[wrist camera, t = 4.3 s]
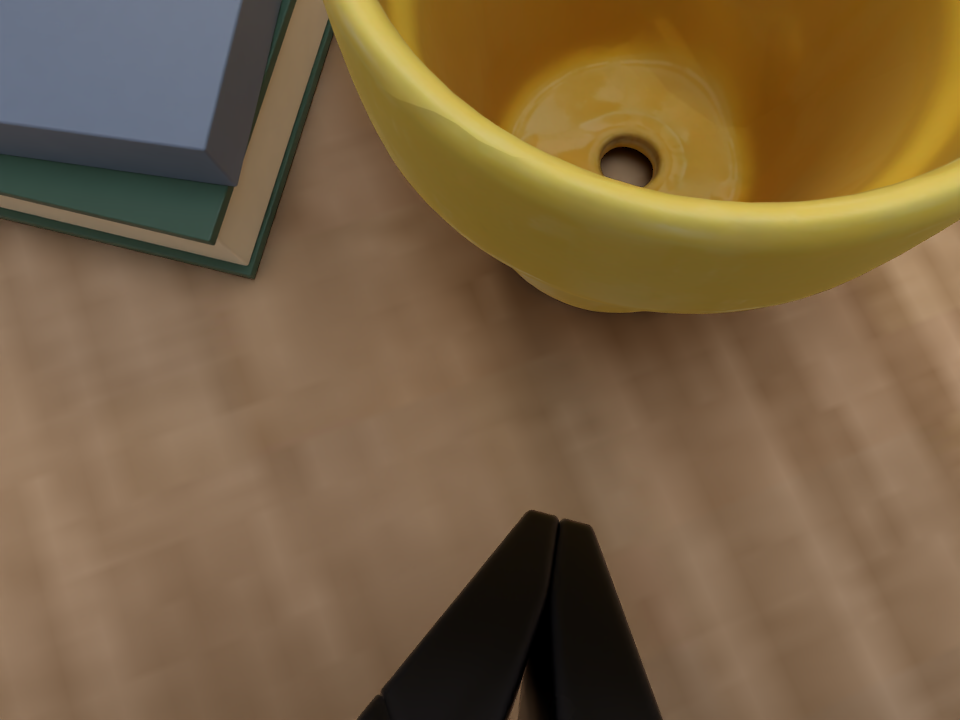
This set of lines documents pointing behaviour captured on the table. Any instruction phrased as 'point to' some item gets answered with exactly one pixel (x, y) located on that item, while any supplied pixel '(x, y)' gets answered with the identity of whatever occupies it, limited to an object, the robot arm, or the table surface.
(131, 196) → the books
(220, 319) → the table surface
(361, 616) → the table surface
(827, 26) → the flower pot
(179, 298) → the table surface
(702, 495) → the table surface
